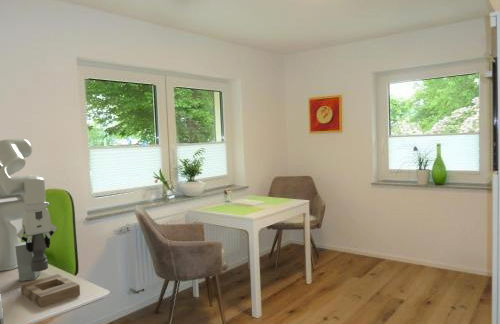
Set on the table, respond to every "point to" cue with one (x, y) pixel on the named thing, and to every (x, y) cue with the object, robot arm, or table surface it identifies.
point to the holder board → (50, 290)
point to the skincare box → (25, 263)
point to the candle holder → (38, 249)
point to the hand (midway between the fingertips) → (38, 248)
